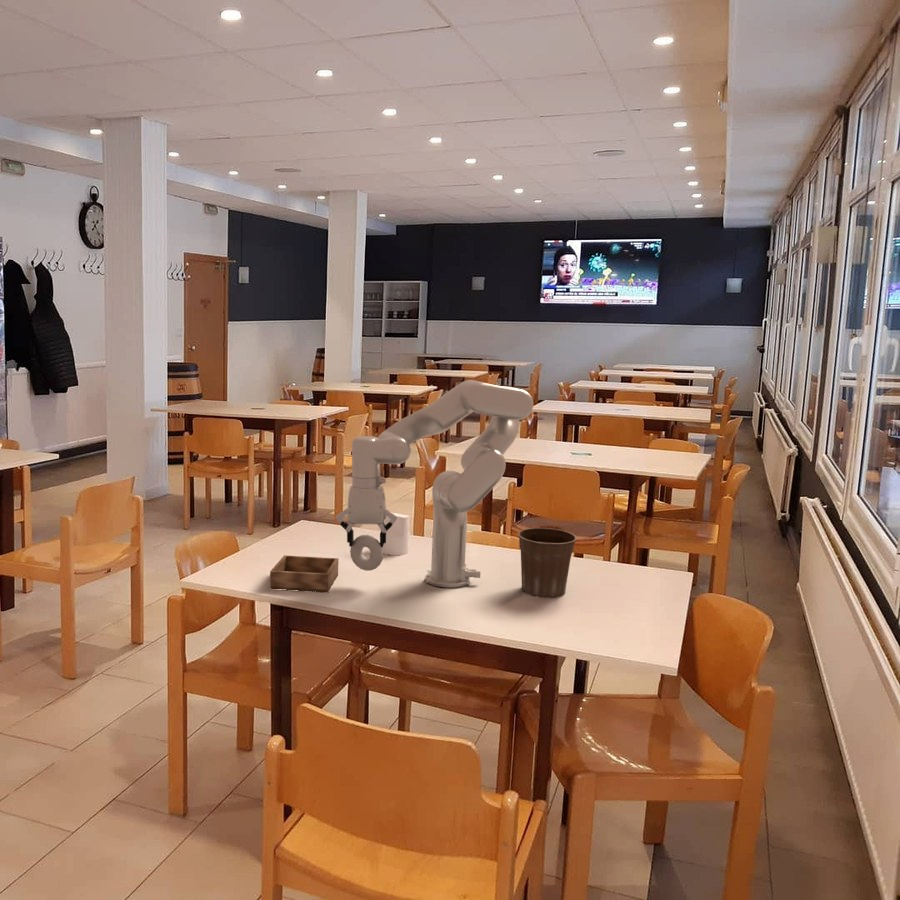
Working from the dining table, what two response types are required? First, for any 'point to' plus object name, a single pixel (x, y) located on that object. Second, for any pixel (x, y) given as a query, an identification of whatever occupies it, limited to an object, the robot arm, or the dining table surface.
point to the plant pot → (545, 560)
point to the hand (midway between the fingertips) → (366, 545)
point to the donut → (374, 548)
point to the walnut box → (304, 573)
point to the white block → (397, 536)
